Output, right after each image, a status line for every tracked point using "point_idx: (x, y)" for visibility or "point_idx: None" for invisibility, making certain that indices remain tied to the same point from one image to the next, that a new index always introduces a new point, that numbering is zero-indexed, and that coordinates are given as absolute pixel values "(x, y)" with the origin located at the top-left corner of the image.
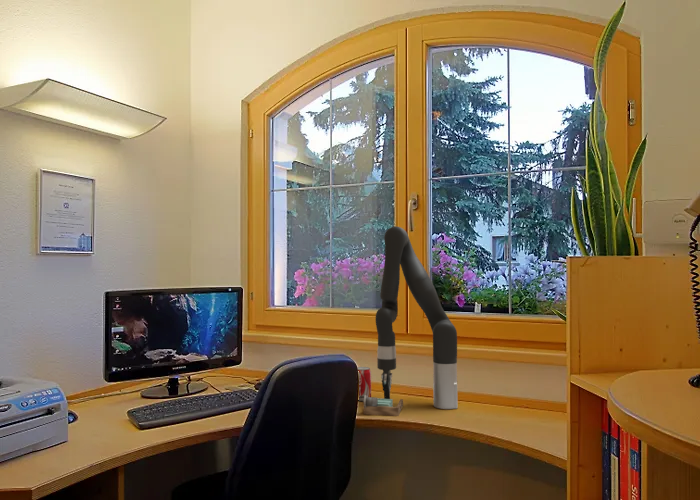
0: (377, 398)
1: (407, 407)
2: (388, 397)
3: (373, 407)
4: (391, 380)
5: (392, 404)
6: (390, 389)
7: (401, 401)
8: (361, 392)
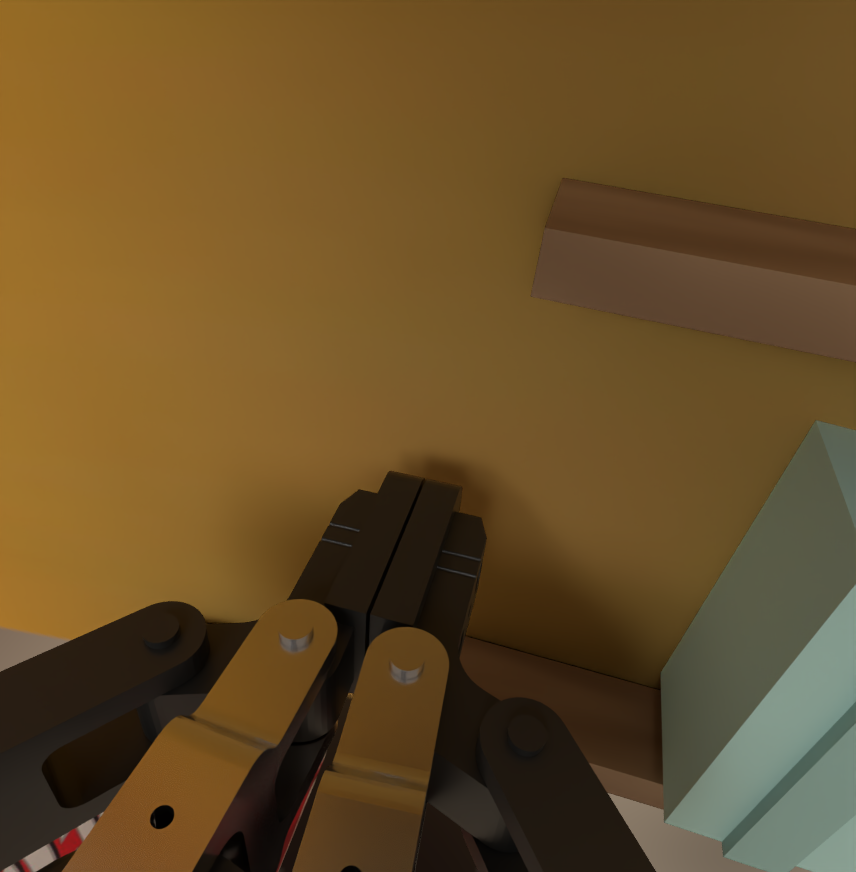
0: (785, 806)
1: (744, 56)
2: (460, 546)
3: None
4: (124, 842)
5: (845, 481)
6: (313, 622)
7: (815, 290)
8: (292, 826)
